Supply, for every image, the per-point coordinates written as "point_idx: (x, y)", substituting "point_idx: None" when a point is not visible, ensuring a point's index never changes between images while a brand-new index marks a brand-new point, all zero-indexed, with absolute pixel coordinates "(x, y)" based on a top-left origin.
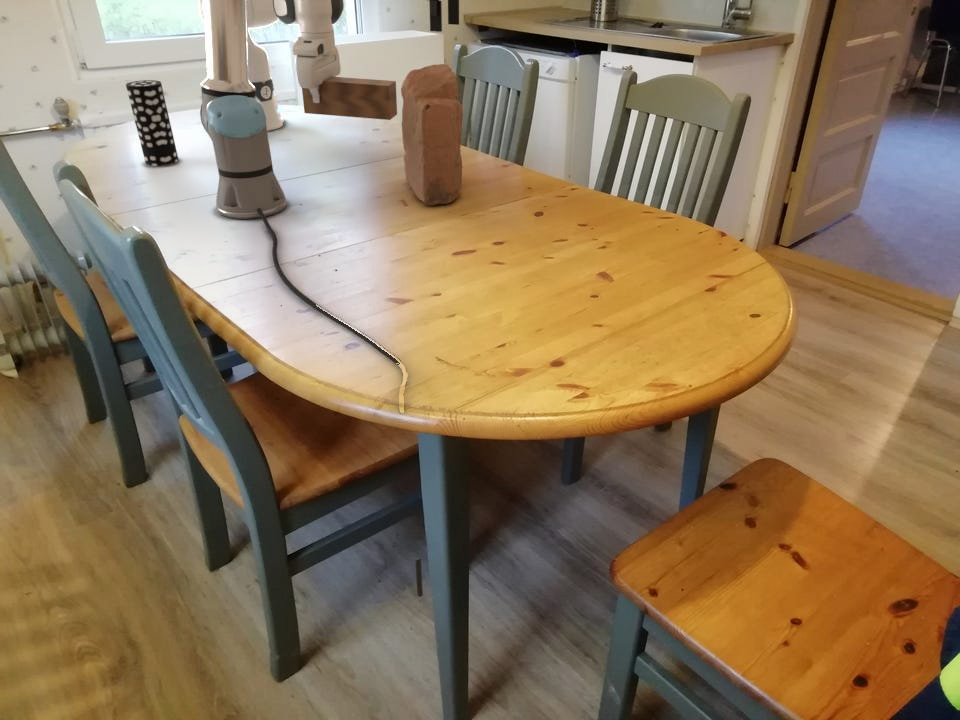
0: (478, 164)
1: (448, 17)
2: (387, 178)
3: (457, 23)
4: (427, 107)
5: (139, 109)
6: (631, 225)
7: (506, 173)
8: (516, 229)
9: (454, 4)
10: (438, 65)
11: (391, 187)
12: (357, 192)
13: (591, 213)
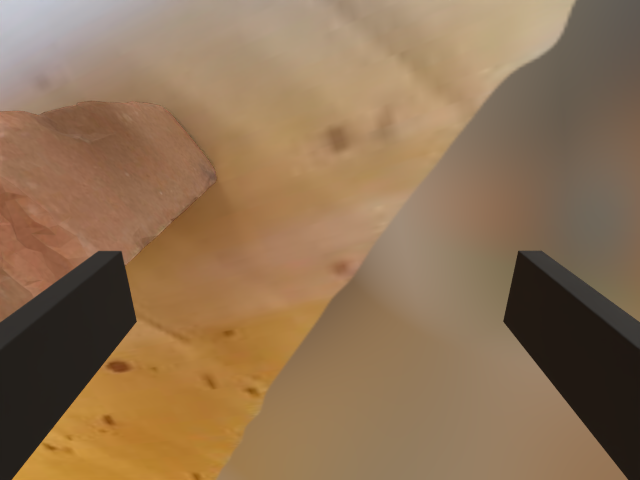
0: (335, 214)
1: (544, 275)
2: (162, 45)
3: (507, 321)
4: (127, 179)
5: None
6: (140, 466)
7: (295, 280)
8: None
9: (601, 399)
10: (4, 296)
11: (110, 82)
12: (40, 15)
13: (159, 424)
